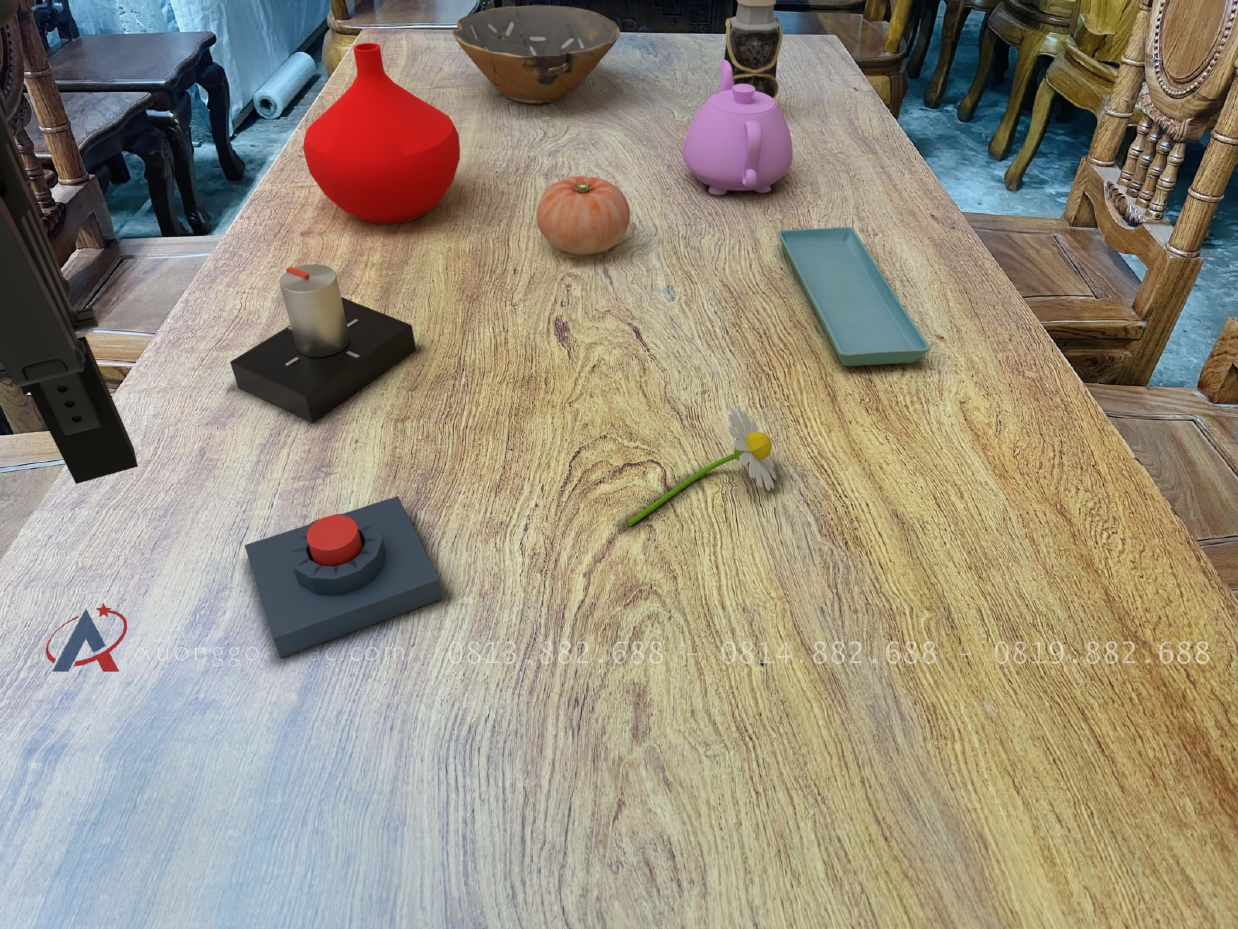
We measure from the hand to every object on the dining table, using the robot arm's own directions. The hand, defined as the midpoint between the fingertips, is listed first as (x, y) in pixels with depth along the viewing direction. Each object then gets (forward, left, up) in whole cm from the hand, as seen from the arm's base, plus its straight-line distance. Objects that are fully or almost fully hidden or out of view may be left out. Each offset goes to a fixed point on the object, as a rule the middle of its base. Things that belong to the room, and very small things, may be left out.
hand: (105, 465), depth 45 cm
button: (+10, +11, -21) cm, 25 cm away
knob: (+16, +39, -21) cm, 47 cm away
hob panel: (+16, +39, -24) cm, 49 cm away
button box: (+10, +11, -24) cm, 29 cm away
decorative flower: (+40, +6, -25) cm, 47 cm away
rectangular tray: (+69, +26, -25) cm, 77 cm away
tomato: (+49, +50, -25) cm, 74 cm away
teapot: (+75, +58, -25) cm, 98 cm away
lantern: (+88, +75, -25) cm, 118 cm away
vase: (+32, +70, -25) cm, 81 cm away
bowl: (+64, +97, -25) cm, 119 cm away
